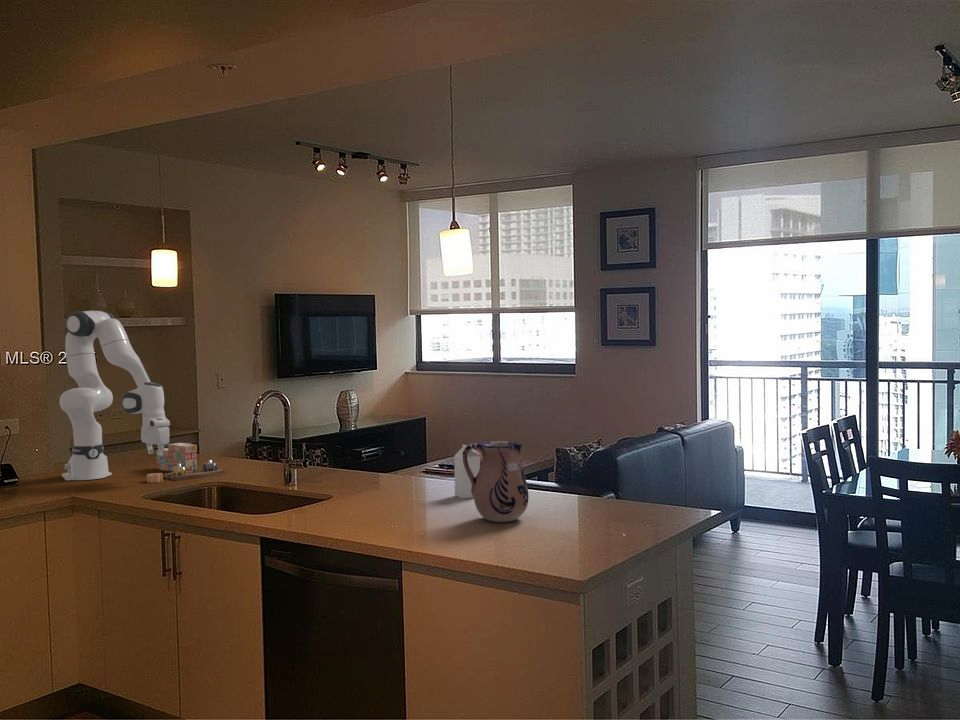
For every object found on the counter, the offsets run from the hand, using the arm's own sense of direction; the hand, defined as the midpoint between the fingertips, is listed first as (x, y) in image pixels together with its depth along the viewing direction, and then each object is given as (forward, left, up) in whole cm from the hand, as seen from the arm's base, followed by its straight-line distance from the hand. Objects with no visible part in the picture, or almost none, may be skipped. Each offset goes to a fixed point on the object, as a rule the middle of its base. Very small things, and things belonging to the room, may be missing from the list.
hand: (155, 454), depth 352 cm
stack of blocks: (-21, +18, -12) cm, 30 cm away
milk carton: (+118, +67, -12) cm, 136 cm away
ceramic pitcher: (+153, +47, -12) cm, 161 cm away
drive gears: (-2, +18, -10) cm, 20 cm away
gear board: (-2, +18, -11) cm, 21 cm away
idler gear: (-1, 0, -11) cm, 11 cm away
